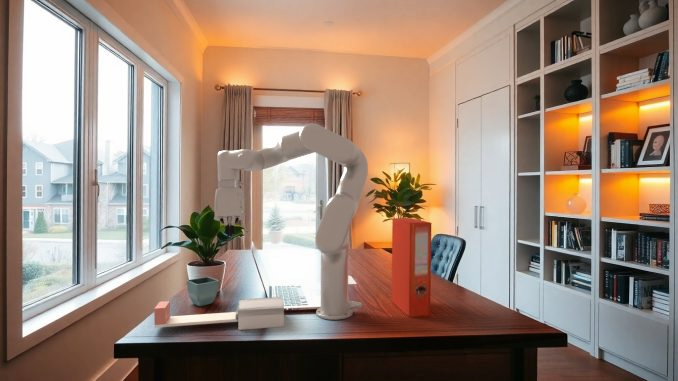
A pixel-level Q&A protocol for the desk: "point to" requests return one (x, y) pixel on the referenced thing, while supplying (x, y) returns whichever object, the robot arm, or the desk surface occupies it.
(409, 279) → the file binder
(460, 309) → the desk surface
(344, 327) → the desk surface
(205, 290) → the flower pot
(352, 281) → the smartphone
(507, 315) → the desk surface
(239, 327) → the block
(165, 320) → the long cream plank
